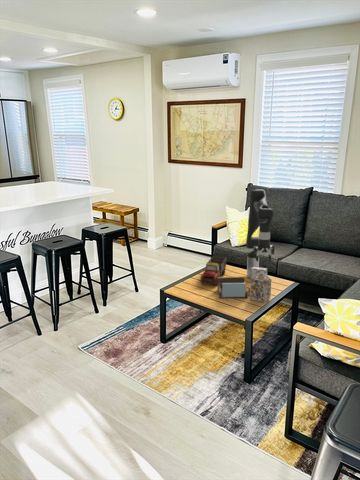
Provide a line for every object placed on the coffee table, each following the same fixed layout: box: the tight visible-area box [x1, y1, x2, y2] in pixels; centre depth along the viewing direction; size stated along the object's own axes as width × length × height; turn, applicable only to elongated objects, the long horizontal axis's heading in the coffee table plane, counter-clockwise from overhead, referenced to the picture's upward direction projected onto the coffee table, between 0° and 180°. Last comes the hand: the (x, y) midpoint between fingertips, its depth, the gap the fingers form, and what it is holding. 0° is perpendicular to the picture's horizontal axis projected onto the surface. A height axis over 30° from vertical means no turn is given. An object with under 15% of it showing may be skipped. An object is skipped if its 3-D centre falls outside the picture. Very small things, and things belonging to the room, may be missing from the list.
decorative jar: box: [249, 274, 272, 303], centre depth 262 cm, size 12×12×18 cm
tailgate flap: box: [222, 282, 247, 297], centre depth 262 cm, size 1×16×10 cm, turn 90°
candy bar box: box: [250, 266, 268, 281], centre depth 279 cm, size 11×5×16 cm, turn 62°
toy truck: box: [200, 256, 227, 287], centre depth 300 cm, size 14×35×15 cm, turn 158°
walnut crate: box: [216, 276, 249, 300], centre depth 271 cm, size 16×20×10 cm
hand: (263, 260), depth 255 cm, fingers open, 8 cm apart
